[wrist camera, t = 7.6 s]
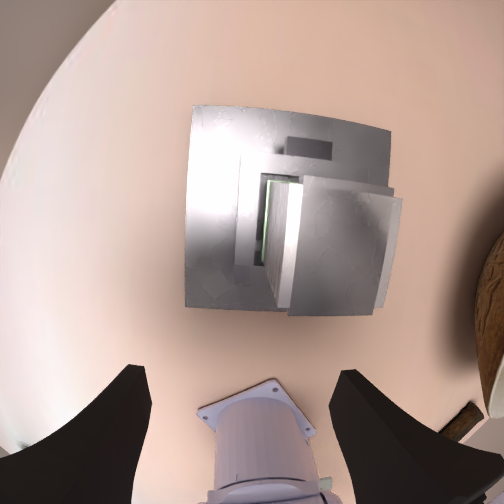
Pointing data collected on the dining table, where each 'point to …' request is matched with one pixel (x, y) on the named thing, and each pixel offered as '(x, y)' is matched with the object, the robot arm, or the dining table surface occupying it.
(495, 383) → the bowl
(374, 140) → the grey square plate
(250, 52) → the dining table surface
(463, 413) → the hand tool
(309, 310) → the silver metal block
